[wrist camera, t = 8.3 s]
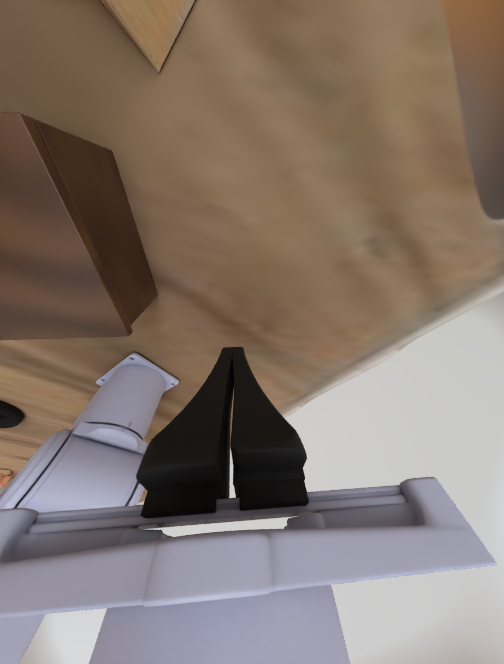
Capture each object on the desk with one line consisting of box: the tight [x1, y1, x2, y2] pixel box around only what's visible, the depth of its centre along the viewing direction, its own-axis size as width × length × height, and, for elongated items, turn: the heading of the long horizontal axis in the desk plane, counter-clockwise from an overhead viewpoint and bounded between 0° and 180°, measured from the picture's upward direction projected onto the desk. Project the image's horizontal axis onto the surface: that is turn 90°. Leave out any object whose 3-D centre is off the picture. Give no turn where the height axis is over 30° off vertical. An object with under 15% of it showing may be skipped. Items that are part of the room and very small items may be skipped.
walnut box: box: [33, 119, 158, 325], centre depth 14 cm, size 12×14×6 cm
